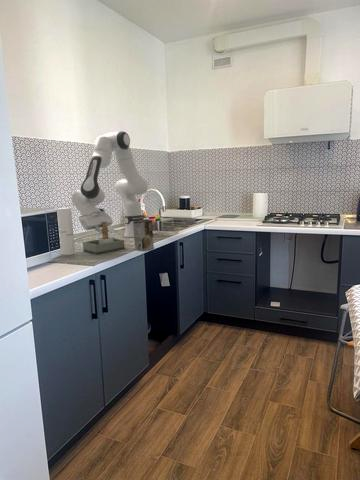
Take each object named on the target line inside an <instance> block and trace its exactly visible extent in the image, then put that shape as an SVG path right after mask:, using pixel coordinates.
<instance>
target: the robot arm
mask: <svg viewBox="0 0 360 480" xmlns="http://www.w3.org/2000/svg"><path fill="white" fill-rule="evenodd" d="M130 145H131V139H130V136H129V134H128V133H127V132H126V131H123V130H121V131H113V132H111V131H110V132H108V133H104V134H100V135H99V136H97V138H96V140H95V142H94V145H93V149H92V152H91V153H92V154H91V158H90V162H89V165H88V168H87V171H86V176H85V178H84V180H83V182H82V183H81V186H80V189H77V190H75V191H74V192H73V193H72V194H71V203H72V204H73V206H74V207H75V208H76V210H77V211H78V212H80V214H81V215H79V216H78V220H79V221H80V224H81V225H82V227H83V229H84V230H85V231H90V230H95V231H96V232H98V233H99V234H100V235H101V234H102V233H103V232H104V231H103V230H102V222H107V227H110V226H112V224H113V223H114V221H113V219H112V217H111V216H110V215H109V214H108V213H107V212H106V210H105V209H104V208H101V207H97V206H98V205H100V204H101V203H103V202H104V200H105V197H106V196H105V195H106V194H105V192H104V191H103V189H102V188H101V186H100V185H99V183H98V179H99V176H100V172H101V171H100V170H101V169H105V168H108V167H109V165H110V163H111V160H112V156H113V155H112V154H113V152H114V155H115V160H116V164H117V165H116V166H117V169H118V171H119V173H120V174H121V175H123V177H125V178H122V179H119V180H117V181H116V182H115V184H114V185H115V191H116V192H117V194H119V195H120V197H121V199H122V202H123V207H124V225H125V226H124V227H125V228H124V233H123V236H124V238H134V226H133V222H135V221H140V220H145V219H147V214H146V215H145V214H142V204H141V202H140V201H139V200H138V199H137V198H136V196H141V195H144V194H146V193H147V192H148V190H149V183H148V181H147V180H146V179H145V178H143V176H141V174H140V173H139V171H138V170H137V167H136V165H135V159H134V156H133V153H132V149H131V147H130ZM109 232H110V229H109V228H108V233H109ZM102 235H103V234H102ZM153 235H156V231H153Z"/></svg>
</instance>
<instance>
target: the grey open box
mask: <svg viewBox="0 0 360 480" xmlns="http://www.w3.org/2000/svg"><path fill="white" fill-rule="evenodd" d="M82 247H83V248H82V250H83V252H86V253H90V254H94V255H100V254H105V253H111V252H116V251H121V250H124V249H125V240H124V239H119V238H115V237H114V236H109V235H108V239H103V237H100V238H99V237H98V239H94V240H88V241H87V240H86V241H82Z"/></svg>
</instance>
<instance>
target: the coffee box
mask: <svg viewBox="0 0 360 480" xmlns="http://www.w3.org/2000/svg"><path fill="white" fill-rule="evenodd" d="M133 226H134V237H133V238H134V239H133V240H134V251H140V252H144V251H148V250H152V249H154V247H155V245H154V234H153V219H152V220H150V219H144V220H140V221H135V222H133Z"/></svg>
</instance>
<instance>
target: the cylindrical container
mask: <svg viewBox="0 0 360 480" xmlns="http://www.w3.org/2000/svg"><path fill="white" fill-rule="evenodd" d="M56 210H57V218H58V221H57V222H58V230H59V240H60V241H59V242H60V250H61V252H60V253H61V255H62V256H71V255H75V254H76V247H75V246H76V245H75V235H74V226H73V224H74V223H73V215H72V207H59V208H57V209H56Z"/></svg>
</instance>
